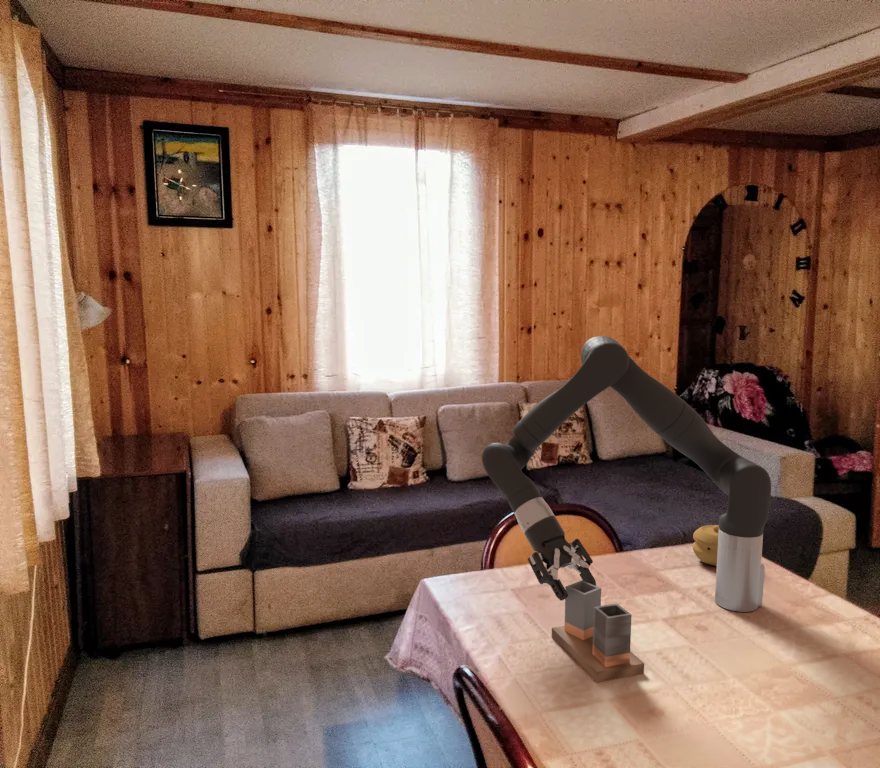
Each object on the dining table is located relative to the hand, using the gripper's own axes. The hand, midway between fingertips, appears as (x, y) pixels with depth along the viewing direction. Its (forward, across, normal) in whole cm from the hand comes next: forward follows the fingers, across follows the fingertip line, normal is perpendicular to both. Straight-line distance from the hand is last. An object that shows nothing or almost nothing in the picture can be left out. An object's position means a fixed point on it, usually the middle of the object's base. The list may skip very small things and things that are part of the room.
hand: (579, 593), depth 148 cm
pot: (+4, +60, +11) cm, 61 cm away
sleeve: (+6, 0, +5) cm, 8 cm away
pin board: (+11, -2, +3) cm, 12 cm away
